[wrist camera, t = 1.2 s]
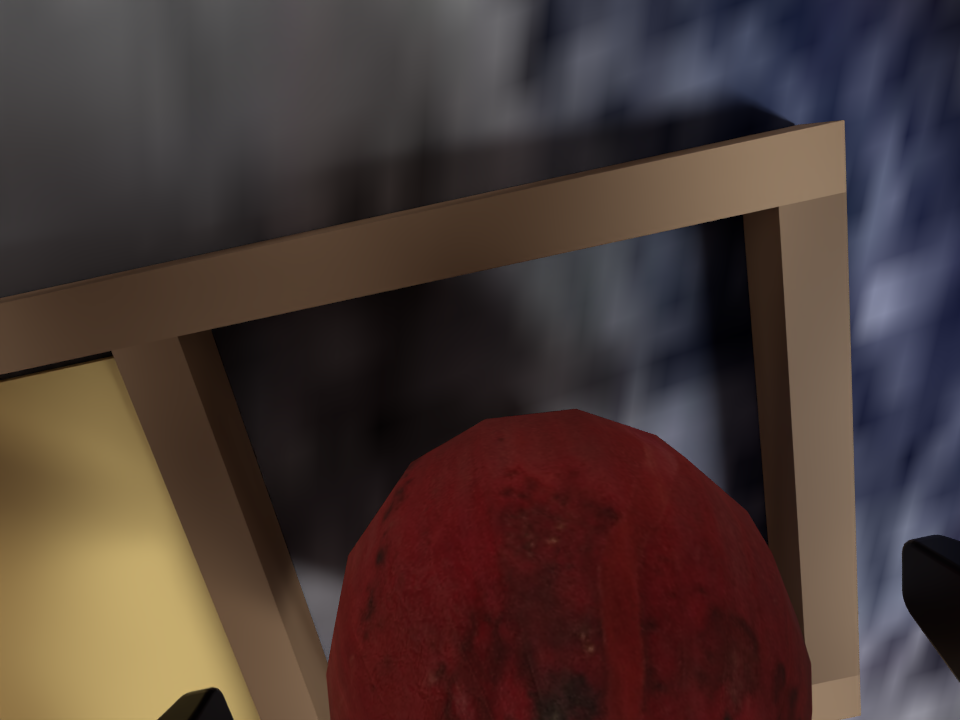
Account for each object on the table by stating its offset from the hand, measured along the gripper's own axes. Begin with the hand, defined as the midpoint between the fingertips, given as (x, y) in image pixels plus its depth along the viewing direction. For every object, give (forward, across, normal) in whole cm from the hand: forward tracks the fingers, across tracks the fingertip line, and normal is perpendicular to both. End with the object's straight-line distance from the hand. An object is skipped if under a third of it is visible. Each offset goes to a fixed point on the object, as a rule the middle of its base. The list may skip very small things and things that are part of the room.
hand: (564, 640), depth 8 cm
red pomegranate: (+4, 0, 0) cm, 4 cm away
